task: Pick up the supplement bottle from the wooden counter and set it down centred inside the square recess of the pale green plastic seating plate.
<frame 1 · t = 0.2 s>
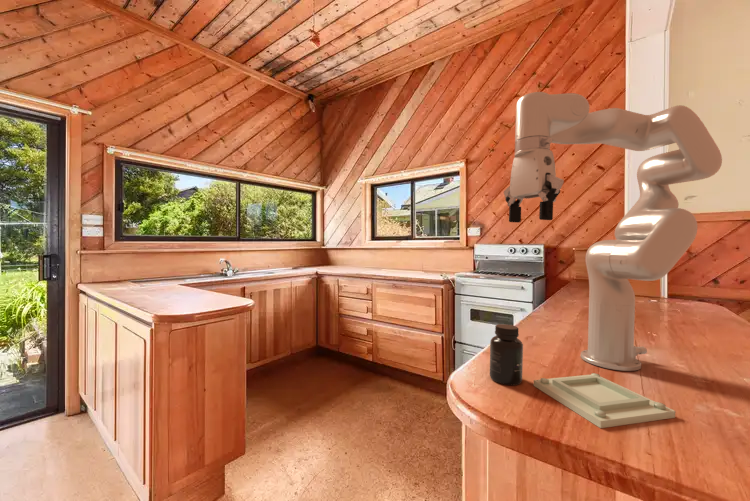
hand: (529, 221, 76), 36 cm above the counter, tool pointing down, fingers open, 9 cm apart
seating plate: (597, 400, 63), on the counter
supplement bottle: (505, 380, 72), on the counter
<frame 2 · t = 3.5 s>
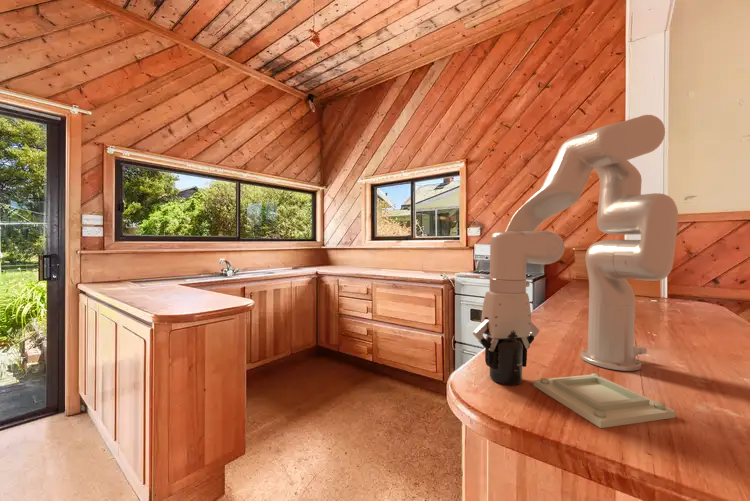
hand: (505, 365, 72), 3 cm above the counter, tool pointing down, fingers closed on supplement bottle, 6 cm apart
supplement bottle: (505, 380, 72), on the counter, touching gripper
when the fingers open (5 cm above the counter, at t = 8.7 s): supplement bottle stays where it is, resting on seating plate.
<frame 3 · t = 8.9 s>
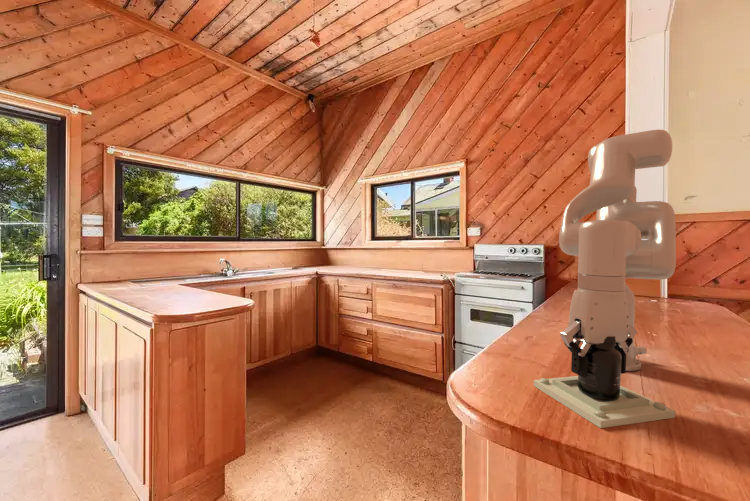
hand: (598, 372, 62), 5 cm above the counter, tool pointing down, fingers open, 8 cm apart
supplement bottle: (597, 394, 63), point 1 cm above the counter, touching seating plate
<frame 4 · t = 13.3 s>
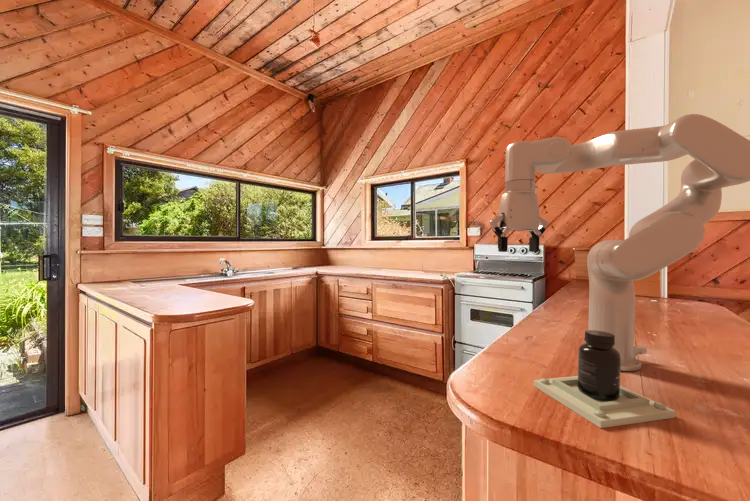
hand: (518, 251, 87), 28 cm above the counter, tool pointing down, fingers open, 9 cm apart
nothing on the counter moved.
at the end: supplement bottle 0.1 cm off-centre on the seating plate, point 1.0 cm above the seating plate's base; supplement bottle tilted 0°; the gripper is holding nothing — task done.
